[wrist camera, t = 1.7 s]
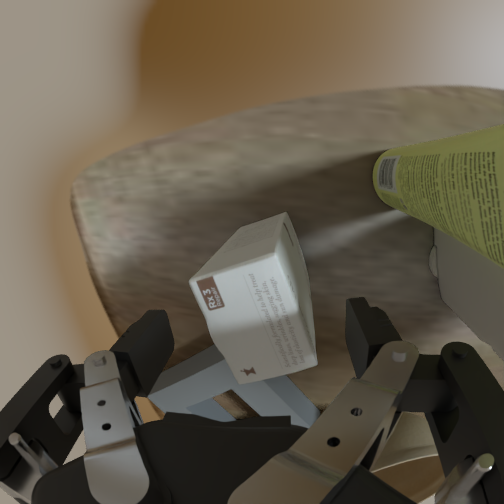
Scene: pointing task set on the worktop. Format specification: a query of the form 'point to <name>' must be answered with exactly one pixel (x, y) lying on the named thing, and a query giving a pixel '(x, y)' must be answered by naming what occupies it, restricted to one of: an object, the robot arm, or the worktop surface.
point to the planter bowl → (411, 460)
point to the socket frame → (221, 380)
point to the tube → (451, 187)
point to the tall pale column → (470, 288)
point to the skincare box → (259, 301)
